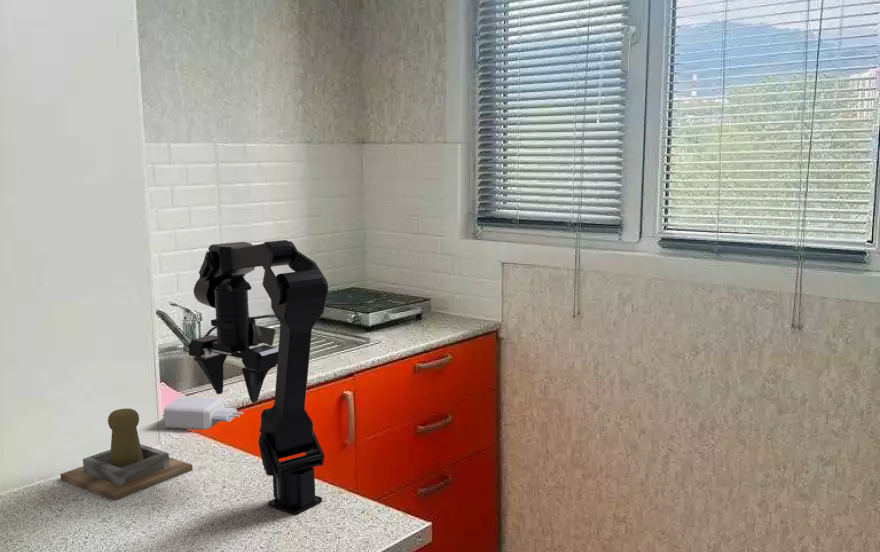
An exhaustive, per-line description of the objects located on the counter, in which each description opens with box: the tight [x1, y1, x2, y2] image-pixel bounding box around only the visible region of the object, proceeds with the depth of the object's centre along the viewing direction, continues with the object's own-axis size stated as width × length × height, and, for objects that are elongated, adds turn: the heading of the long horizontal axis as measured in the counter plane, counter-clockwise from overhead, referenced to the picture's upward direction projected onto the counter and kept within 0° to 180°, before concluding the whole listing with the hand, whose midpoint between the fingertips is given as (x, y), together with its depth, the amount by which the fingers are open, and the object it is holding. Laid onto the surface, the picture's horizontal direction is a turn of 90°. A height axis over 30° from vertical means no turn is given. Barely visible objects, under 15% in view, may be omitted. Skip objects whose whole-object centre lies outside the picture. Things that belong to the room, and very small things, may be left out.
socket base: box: [60, 443, 193, 501], centre depth 157 cm, size 16×16×4 cm
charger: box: [163, 395, 244, 431], centre depth 184 cm, size 5×9×15 cm
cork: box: [107, 408, 143, 468], centre depth 156 cm, size 6×6×11 cm
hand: (236, 397), depth 158 cm, fingers open, 9 cm apart
